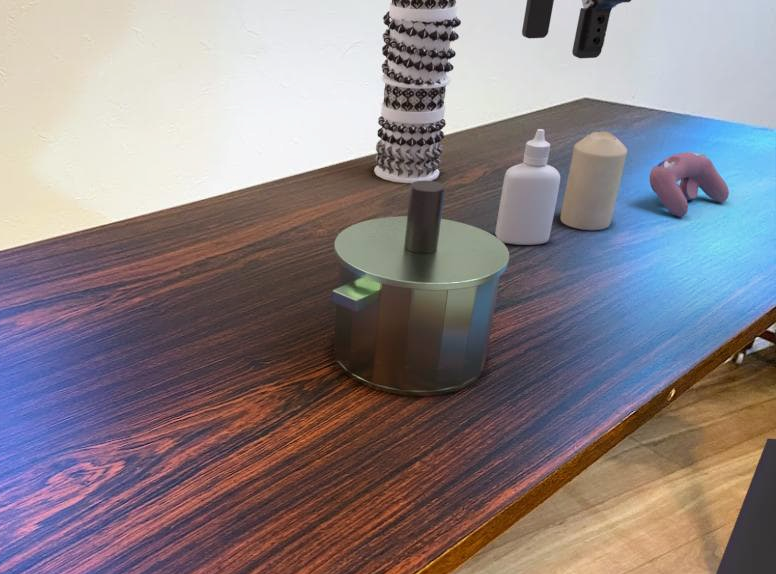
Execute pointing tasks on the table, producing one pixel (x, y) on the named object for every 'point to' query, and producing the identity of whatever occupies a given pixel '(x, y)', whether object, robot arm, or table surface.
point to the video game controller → (686, 181)
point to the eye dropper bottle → (529, 197)
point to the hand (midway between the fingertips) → (558, 46)
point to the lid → (422, 247)
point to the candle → (593, 181)
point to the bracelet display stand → (415, 88)
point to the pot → (411, 335)
